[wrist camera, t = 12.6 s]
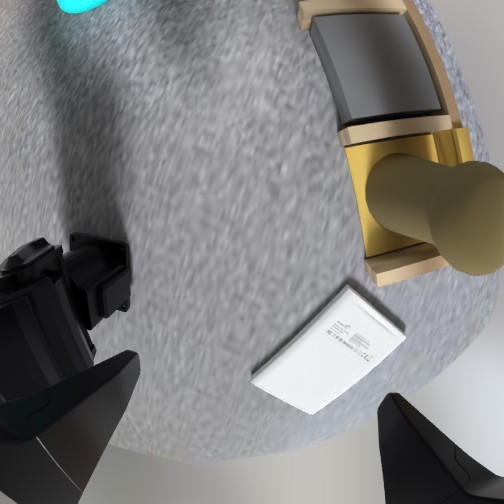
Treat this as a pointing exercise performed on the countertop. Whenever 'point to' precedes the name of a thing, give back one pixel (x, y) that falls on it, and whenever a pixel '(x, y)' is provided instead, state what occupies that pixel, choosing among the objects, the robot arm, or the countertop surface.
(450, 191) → the olive brown pawn
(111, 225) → the countertop surface
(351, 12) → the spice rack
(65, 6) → the donuts
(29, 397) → the robot arm
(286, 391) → the external hard drive
